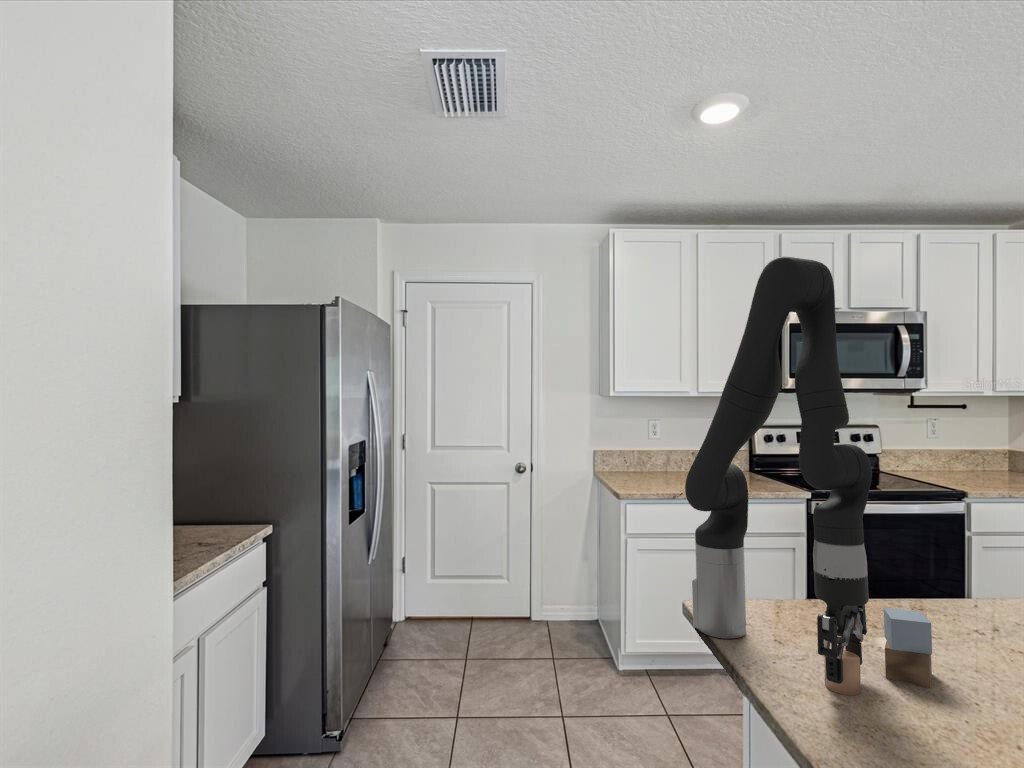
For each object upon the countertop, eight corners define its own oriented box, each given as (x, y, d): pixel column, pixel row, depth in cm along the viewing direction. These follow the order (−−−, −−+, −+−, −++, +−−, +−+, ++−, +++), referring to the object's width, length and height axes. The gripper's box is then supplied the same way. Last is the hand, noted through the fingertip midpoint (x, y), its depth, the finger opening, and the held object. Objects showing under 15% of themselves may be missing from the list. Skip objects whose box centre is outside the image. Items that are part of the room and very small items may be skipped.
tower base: (885, 678, 96) (884, 647, 96) (888, 664, 100) (887, 635, 101) (930, 688, 92) (929, 656, 92) (931, 674, 97) (930, 643, 97)
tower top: (892, 649, 95) (890, 618, 95) (884, 636, 100) (883, 607, 100) (932, 654, 93) (931, 622, 93) (922, 641, 98) (921, 611, 98)
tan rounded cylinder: (819, 686, 93) (819, 655, 93) (832, 676, 96) (831, 646, 96) (854, 698, 89) (853, 665, 89) (865, 687, 93) (864, 656, 93)
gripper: (831, 557, 101) (835, 652, 100) (797, 574, 91) (802, 679, 91) (880, 565, 95) (885, 666, 95) (850, 584, 86) (855, 696, 85)
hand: (844, 672), depth 93 cm, fingers open, 8 cm apart
